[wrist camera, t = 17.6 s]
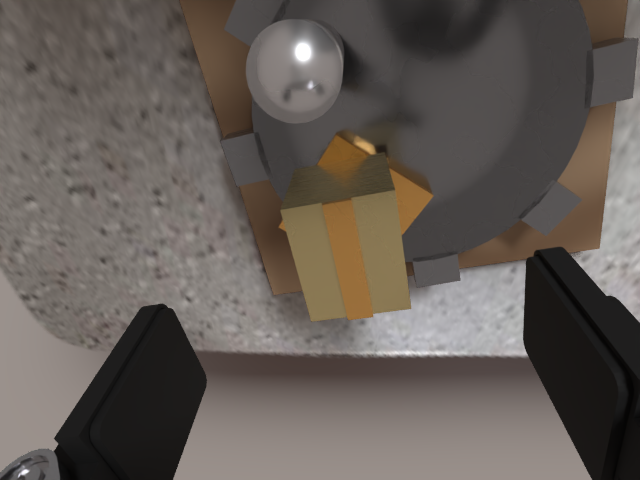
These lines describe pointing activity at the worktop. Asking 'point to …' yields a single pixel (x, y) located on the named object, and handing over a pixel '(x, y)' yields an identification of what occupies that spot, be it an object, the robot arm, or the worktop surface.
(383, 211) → the tan block with orange
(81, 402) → the robot arm
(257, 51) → the sprocket
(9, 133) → the worktop surface
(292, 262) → the sprocket base
